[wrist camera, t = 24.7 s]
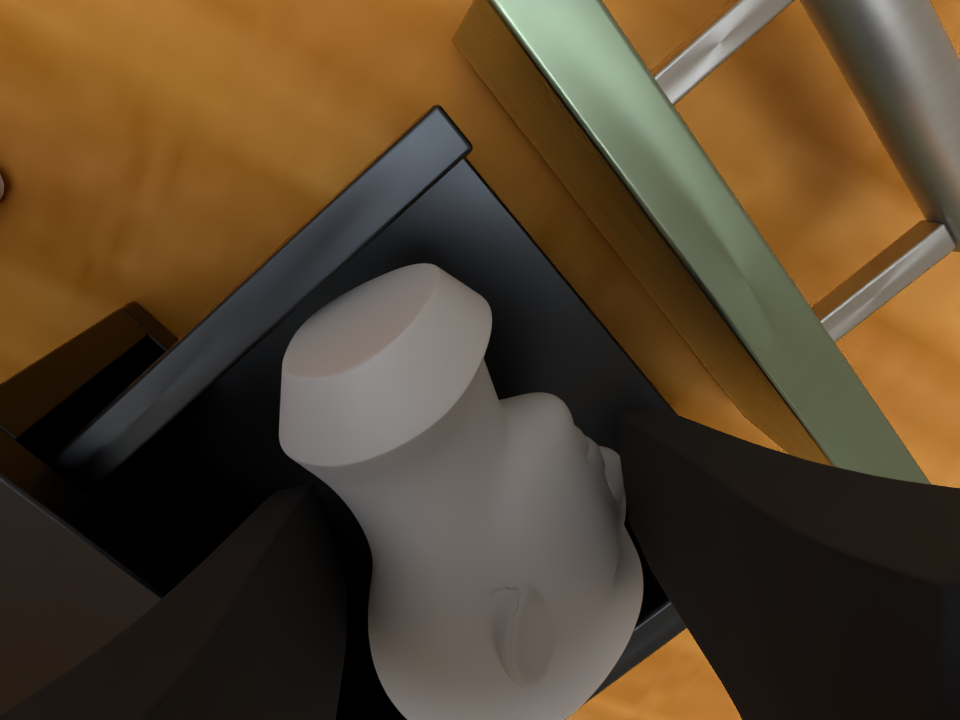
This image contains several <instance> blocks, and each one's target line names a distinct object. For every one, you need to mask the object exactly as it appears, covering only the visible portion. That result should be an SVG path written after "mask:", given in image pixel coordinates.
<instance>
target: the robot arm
mask: <svg viewBox="0 0 960 720" xmlns="http://www.w3.org/2000/svg"><path fill="white" fill-rule="evenodd" d="M3 194H4V182H3V179H2V176H1V174H0V199H1V197H2V195H3ZM614 418H615V425H616V432H617V439H618V447H619V454H620V461H621V468H622V475H623V483H624V490H625V497H626V504H627V511H628V519H629V522H630V524H631V527H632V529H633V531H634V534H635V536H636V538H637V540H638V543H639V545H640V547H641V549H642V551H643V554H644V556H645V558H646V560H647V562H648V564H649V566H650V569H651V571H652V572H653V574H654V575H655V577H656V579H657V580H658V582H659V584H660V585H661V587H662V588H663V590H664V592H665V593H666V595H667V596H668V598H669V600H670V601H671V603H672V604H673V606H674V608H675V609H676V611H677V612H678V614H679V616H680V617H681V619H682V620H683V622H684V623H685V625H686V627H687V628H688V630H689V631H690V633H691V635H692V636H693V638H694V639H695V641H696V642H697V644H698V646H699V647H700V649H701V650H702V652H703V653H704V655H705V657H706V658H707V660H708V661H709V663H710V665H711V666H712V668H713V669H714V671H715V672H716V674H717V676H718V677H719V679H720V680H721V682H722V684H723V685H724V687H725V689H726V691H727V692H728V694H729V696H730V698H731V699H732V701H733V703H734V705H735V706H736V708H737V710H738V712H739V714H740V716H741V718H742V720H960V488H952V487H945V486H938V485H931V484H924V483H917V482H910V481H903V480H897V479H891V478H886V477H880V476H875V475H870V474H865V473H861V472H856V471H852V470H847V469H842V468H838V467H833V466H829V465H825V464H821V463H817V462H813V461H809V460H805V459H802V458H799V457H795V456H792V455H789V454H785V453H782V452H779V451H775V450H772V449H769V448H766V447H763V446H760V445H757V444H754V443H751V442H748V441H745V440H742V439H739V438H736V437H734V436H731V435H728V434H726V433H723V432H720V431H717V430H715V429H712V428H710V427H707V426H704V425H702V424H699V423H697V422H694V421H691V420H689V419H686V418H684V417H681V416H678V415H676V414H673V413H670V412H667V411H664V410H661V409H658V408H654V407H646V408H641V409H637V410H632V411H628V412H624V413H619V414H615V415H614ZM346 643H347V585H346V582H345V579H344V575H343V572H342V569H341V566H340V563H339V560H338V557H337V553H336V550H335V547H334V544H333V541H332V538H331V534H330V531H329V528H328V525H327V522H326V519H325V515H324V512H323V509H322V506H321V503H320V500H319V497H318V493H317V490H316V487H315V484H314V483H311V484H307V485H302V486H298V487H293V488H289V489H285V490H280V491H277V492H275V493H274V494H273V495H271V496H270V497H269V498H268V499H267V500H266V501H264V502H263V503H262V504H261V505H260V506H259V507H258V508H257V509H256V510H255V511H254V512H253V513H252V514H251V515H250V516H249V517H248V518H247V519H246V520H245V521H244V522H243V523H242V524H241V525H240V526H239V527H238V528H237V529H236V530H235V531H234V532H233V533H232V534H231V535H230V536H229V537H228V538H227V539H226V540H225V541H224V542H222V543H221V544H220V545H219V546H218V547H217V548H216V549H215V550H214V551H213V552H212V553H211V554H210V555H209V556H208V557H207V558H206V559H205V560H204V561H203V562H202V563H201V564H200V565H199V566H198V567H196V568H195V569H194V570H193V571H192V572H191V573H190V574H189V575H188V576H187V577H185V578H184V579H183V580H182V581H181V582H180V583H179V584H178V585H177V586H175V587H174V588H173V589H172V590H171V591H170V592H169V593H168V594H167V595H165V596H164V597H163V598H162V599H161V600H160V601H159V602H158V603H157V604H155V605H154V606H153V607H152V608H151V609H149V610H148V611H147V612H146V613H145V614H144V615H142V616H141V617H140V618H139V619H137V620H136V621H135V622H134V623H132V624H131V625H130V626H129V627H127V628H126V629H125V630H123V631H122V632H121V633H120V634H118V635H117V636H116V637H114V638H113V639H112V640H110V641H109V642H108V643H106V644H105V645H104V646H102V647H101V648H100V649H98V650H97V651H96V652H94V653H93V654H92V655H90V656H89V657H88V658H86V659H85V660H83V661H82V662H81V663H79V664H78V665H76V666H75V667H73V668H72V669H70V670H69V671H67V672H66V673H64V674H63V675H61V676H60V677H58V678H57V679H55V680H54V681H52V682H51V683H49V684H48V685H46V686H45V687H43V688H42V689H40V690H39V691H37V692H36V693H34V694H33V695H31V696H30V697H28V698H27V699H25V700H24V701H22V702H21V703H19V704H17V705H16V706H14V707H13V708H11V709H10V710H8V711H7V712H5V713H3V714H2V715H0V720H336V713H337V706H338V700H339V693H340V686H341V679H342V672H343V665H344V658H345V650H346Z"/></svg>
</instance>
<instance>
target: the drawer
mask: <svg viewBox="0 0 960 720" xmlns="http://www.w3.org/2000/svg"><path fill="white" fill-rule="evenodd" d="M793 1H795V0H731V1H730V2H729V3H727V4H726V5H725V6H724V7H723V8H722V9H721V10H719V11H718V12H717V13H716V14H715V15H714V16H713V17H712V18H710V19H709V20H708V21H707V22H706V23H705V24H704V25H702V26H701V27H700V28H699V29H698V30H697V31H696V32H695V33H693V34H692V35H691V36H690V37H689V38H688V39H687V40H685V41H684V42H683V43H682V44H681V45H680V46H679V47H678V48H676V49H675V50H674V51H673V52H672V53H671V54H670V55H668V56H667V57H666V58H665V59H664V60H663V61H662V62H661V63H659V64H658V65H657V66H656V67H655V68H654V69H653V70H651V71H650V70H649V69H648V68H647V66H646V65H645V63H644V62H643V60H642V59H641V57H640V56H639V54H638V53H637V51H636V50H635V48H634V47H633V46H632V44H631V43H630V41H629V40H628V38H627V37H626V35H625V34H624V32H623V31H622V29H621V28H620V26H619V25H618V23H617V22H616V21H615V19H614V18H613V16H612V15H611V13H610V12H609V10H608V9H607V7H606V6H605V4H604V3H603V1H602V0H473V2H472V4H471V6H470V8H469V9H468V11H467V13H466V15H465V17H464V18H463V20H462V22H461V24H460V26H459V27H458V29H457V31H456V33H455V35H454V37H453V39H452V40H453V43H454V44H455V46H456V47H457V48H458V49H459V51H460V52H461V53H462V55H463V56H464V57H465V58H466V60H467V61H468V62H469V64H470V65H471V66H472V67H473V69H474V70H475V71H476V73H477V74H478V75H479V76H480V78H481V79H482V80H483V82H484V83H485V84H486V85H487V87H488V88H489V89H490V91H491V92H492V93H493V94H494V96H495V97H496V98H497V100H498V101H499V102H500V103H501V105H502V106H503V107H504V109H505V110H506V111H507V112H508V114H509V115H510V116H511V118H512V119H513V120H514V121H515V123H516V124H517V125H518V127H519V128H520V129H521V130H522V132H523V133H524V134H525V136H526V137H527V138H528V139H529V141H530V142H531V143H532V145H533V146H534V147H535V148H536V150H537V151H538V152H539V154H540V155H541V156H542V157H543V159H544V160H545V161H546V163H547V164H548V165H549V166H550V168H551V169H552V170H553V172H554V173H555V174H556V175H557V177H558V178H559V179H560V181H561V182H562V183H563V184H564V186H565V187H566V188H567V190H568V191H569V192H570V193H571V195H572V196H573V197H574V199H575V200H576V201H577V202H578V204H579V205H580V206H581V208H582V209H583V210H584V211H585V213H586V214H587V215H588V217H589V218H590V219H591V220H592V222H593V223H594V224H595V226H596V227H597V228H598V229H599V231H600V232H601V233H602V235H603V236H604V237H605V238H606V240H607V241H608V242H609V244H610V245H611V246H612V247H613V249H614V250H615V251H616V253H617V254H618V255H619V256H620V258H621V259H622V260H623V262H624V263H625V264H626V265H627V267H628V268H629V269H630V271H631V272H632V273H633V274H634V276H635V277H636V278H637V280H638V281H639V282H640V283H641V285H642V286H643V287H644V289H645V290H646V291H647V292H648V294H649V295H650V296H651V298H652V299H653V300H654V301H655V303H656V304H657V305H658V307H659V308H660V309H661V310H662V312H663V313H664V314H665V316H666V317H667V318H668V319H669V321H670V322H671V323H672V325H673V326H674V327H675V328H676V330H677V331H678V332H679V334H680V335H681V336H682V337H683V339H684V340H685V341H686V343H687V344H688V345H689V346H690V348H691V349H692V350H693V352H694V353H695V354H696V355H697V357H698V358H699V359H700V361H701V362H702V363H703V364H704V366H705V367H706V368H707V370H708V371H709V372H710V373H711V375H712V376H713V377H714V379H715V380H716V381H717V382H718V384H719V385H720V386H721V388H722V389H723V390H724V391H725V393H726V394H727V395H728V397H729V398H730V399H731V400H732V402H733V403H734V404H735V406H736V407H737V408H738V409H739V411H740V412H741V413H742V415H743V416H744V417H745V418H746V419H748V420H749V421H750V422H751V423H752V424H754V425H755V426H756V427H757V428H758V429H760V430H761V431H762V432H763V433H764V434H766V435H767V436H768V437H769V438H770V439H772V440H773V441H774V442H775V443H776V444H778V445H779V446H780V447H781V448H782V449H784V450H785V451H786V452H787V453H788V454H790V455H792V456H795V457H799V458H802V459H805V460H809V461H813V462H817V463H821V464H825V465H829V466H833V467H838V468H842V469H847V470H852V471H856V472H861V473H865V474H870V475H875V476H880V477H886V478H891V479H897V480H903V481H910V482H917V483H924V484H931V483H930V482H929V480H928V479H927V477H926V476H925V474H924V473H923V471H922V470H921V468H920V467H919V466H918V464H917V463H916V461H915V460H914V458H913V457H912V455H911V454H910V452H909V451H908V449H907V448H906V446H905V445H904V443H903V442H902V441H901V439H900V438H899V436H898V435H897V433H896V432H895V430H894V429H893V427H892V426H891V424H890V423H889V421H888V420H887V419H886V417H885V416H884V414H883V413H882V411H881V410H880V408H879V407H878V405H877V404H876V402H875V401H874V399H873V398H872V397H871V395H870V394H869V392H868V391H867V389H866V388H865V386H864V385H863V383H862V382H861V380H860V379H859V377H858V376H857V374H856V373H855V372H854V370H853V369H852V367H851V366H850V364H849V363H848V361H847V360H846V358H845V357H844V355H843V354H842V352H841V351H840V350H839V348H838V347H837V345H836V344H835V342H836V341H838V340H839V339H840V338H842V337H843V336H844V335H845V334H847V333H848V332H849V331H850V330H852V329H853V328H854V327H856V326H857V325H858V324H859V323H861V322H862V321H863V320H865V319H866V318H867V317H868V316H870V315H871V314H872V313H873V312H875V311H876V310H877V309H879V308H880V307H881V306H882V305H884V304H885V303H886V302H888V301H889V300H890V299H891V298H893V297H894V296H895V295H897V294H898V293H899V292H900V291H902V290H903V289H904V288H905V287H907V286H908V285H909V284H911V283H912V282H913V281H914V280H916V279H917V278H918V277H920V276H921V275H922V274H923V273H925V272H926V271H927V270H929V269H930V268H931V267H932V266H934V265H935V264H936V263H937V262H939V261H940V260H941V259H943V258H944V257H945V256H946V255H948V254H949V253H950V252H952V251H953V252H960V59H959V57H958V55H957V53H956V51H955V49H954V47H953V45H952V43H951V41H950V39H949V38H948V36H947V34H946V32H945V30H944V28H943V26H942V24H941V22H940V20H939V18H938V16H937V14H936V12H935V10H934V8H933V6H932V4H931V2H930V0H800V1H801V3H802V5H803V7H804V8H805V10H806V12H807V13H808V15H809V17H810V19H811V20H812V22H813V24H814V26H815V27H816V29H817V31H818V33H819V34H820V36H821V38H822V40H823V41H824V43H825V45H826V46H827V48H828V50H829V52H830V53H831V55H832V57H833V59H834V60H835V62H836V64H837V66H838V67H839V69H840V71H841V73H842V74H843V76H844V78H845V80H846V81H847V83H848V85H849V86H850V88H851V90H852V92H853V93H854V95H855V97H856V99H857V100H858V102H859V104H860V106H861V107H862V109H863V111H864V113H865V114H866V116H867V118H868V120H869V121H870V123H871V125H872V126H873V128H874V130H875V132H876V133H877V135H878V137H879V139H880V140H881V142H882V144H883V146H884V147H885V149H886V151H887V153H888V154H889V156H890V158H891V160H892V161H893V163H894V165H895V166H896V168H897V170H898V172H899V173H900V175H901V177H902V179H903V180H904V182H905V184H906V186H907V187H908V189H909V191H910V193H911V194H912V196H913V198H914V200H915V201H916V203H917V205H918V206H919V208H920V210H921V212H922V213H923V215H924V217H925V219H926V220H927V221H925V220H923V221H920V222H919V223H917V224H916V225H915V226H914V227H912V228H911V229H910V230H908V231H907V232H906V233H905V234H903V235H902V236H901V237H900V238H898V239H897V240H896V241H895V242H893V243H892V244H891V245H890V246H888V247H887V248H886V249H885V250H883V251H882V252H881V253H880V254H878V255H877V256H876V257H874V258H873V259H872V260H871V261H869V262H868V263H867V264H866V265H864V266H863V267H862V268H861V269H859V270H858V271H857V272H856V273H854V274H853V275H852V276H851V277H849V278H848V279H847V280H846V281H844V282H843V283H842V284H840V285H839V286H838V287H837V288H835V289H834V290H833V291H832V292H830V293H829V294H828V295H827V296H825V297H824V298H823V299H822V300H820V301H819V302H818V303H817V304H815V305H814V306H813V307H812V308H811V307H810V305H809V304H808V303H807V301H806V300H805V298H804V297H803V295H802V294H801V292H800V291H799V289H798V288H797V286H796V285H795V283H794V282H793V280H792V279H791V278H790V276H789V275H788V273H787V272H786V270H785V269H784V267H783V266H782V264H781V263H780V261H779V260H778V258H777V257H776V256H775V254H774V253H773V251H772V250H771V248H770V247H769V245H768V244H767V242H766V241H765V239H764V238H763V236H762V235H761V233H760V232H759V231H758V229H757V228H756V226H755V225H754V223H753V222H752V220H751V219H750V217H749V216H748V214H747V213H746V211H745V210H744V209H743V207H742V206H741V204H740V203H739V201H738V200H737V198H736V197H735V195H734V194H733V192H732V191H731V189H730V188H729V187H728V185H727V184H726V182H725V181H724V179H723V178H722V176H721V175H720V173H719V172H718V170H717V169H716V167H715V166H714V164H713V163H712V162H711V160H710V159H709V157H708V156H707V154H706V153H705V151H704V150H703V148H702V147H701V145H700V144H699V142H698V141H697V140H696V138H695V137H694V135H693V134H692V132H691V131H690V129H689V128H688V126H687V125H686V123H685V122H684V120H683V119H682V117H681V116H680V115H679V113H678V112H677V110H676V109H675V107H674V105H675V104H676V103H677V102H678V101H680V100H681V99H682V98H683V97H684V96H685V95H686V94H688V93H689V92H690V91H691V90H692V89H693V88H694V87H696V86H697V85H698V84H699V83H700V82H701V81H703V80H704V79H705V78H706V77H707V76H708V75H709V74H711V73H712V72H713V71H714V70H715V69H716V68H717V67H719V66H720V65H721V64H722V63H723V62H724V61H726V60H727V59H728V58H729V57H730V56H731V55H732V54H734V53H735V52H736V51H737V50H738V49H739V48H741V47H742V46H743V45H744V44H745V43H746V42H747V41H749V40H750V39H751V38H752V37H753V36H754V35H755V34H757V33H758V32H759V31H760V30H761V29H762V28H764V27H765V26H766V25H767V24H768V23H769V22H770V21H772V20H773V19H774V18H775V17H776V16H777V15H778V14H780V13H781V12H782V11H783V10H784V9H785V8H787V7H788V6H789V5H790V4H791V3H792V2H793ZM472 149H473V147H472V144H471V143H470V141H469V140H468V139H467V138H466V136H465V135H464V134H463V133H462V132H461V130H460V129H459V128H458V127H457V125H456V124H455V123H454V122H453V120H452V119H451V118H450V117H449V116H448V114H447V113H446V112H445V111H444V109H443V108H442V107H441V106H439V105H435V106H433V107H431V108H430V109H429V110H428V111H426V112H425V113H424V114H423V115H421V116H420V117H419V118H418V119H417V120H416V121H415V122H414V123H413V124H412V125H411V126H410V127H408V128H407V129H406V130H405V131H404V132H403V133H402V134H401V135H400V136H399V137H398V138H396V139H395V140H394V141H393V142H392V143H391V144H390V145H389V146H388V147H387V148H386V149H385V150H383V151H382V152H381V153H380V154H379V155H378V156H377V157H376V158H375V159H374V160H373V161H372V162H370V163H369V164H368V165H367V166H366V167H365V168H364V169H363V170H362V171H361V172H360V173H359V174H357V175H356V176H355V177H354V178H353V179H352V180H351V181H350V182H349V183H348V184H347V185H346V186H344V187H343V188H342V189H341V190H340V191H339V192H338V193H337V194H336V195H335V196H334V197H333V198H331V199H330V200H329V201H328V202H327V203H326V204H325V205H324V206H323V207H322V208H321V209H320V210H318V211H317V212H316V213H315V214H314V215H313V216H312V217H311V218H310V219H309V220H308V221H307V222H305V223H304V224H303V225H302V226H301V227H300V228H299V229H298V230H297V231H296V232H295V233H293V234H292V235H291V236H290V237H289V238H288V239H287V240H286V241H285V242H284V243H283V244H282V245H280V246H279V247H278V248H277V249H276V250H275V251H274V252H273V253H272V254H271V255H270V256H269V257H267V258H266V259H265V260H264V261H263V262H262V263H261V264H260V265H259V266H258V267H257V268H256V269H254V270H253V271H252V272H251V273H250V274H249V275H248V276H247V277H246V278H245V279H244V280H243V281H241V282H240V283H239V284H238V285H237V286H236V287H235V288H234V289H233V290H232V291H231V292H230V293H228V294H227V295H226V296H225V297H224V298H223V299H222V300H221V301H220V302H219V303H218V304H217V305H215V306H214V307H213V308H212V309H211V310H210V311H209V312H208V313H207V314H206V315H205V316H204V317H202V318H201V319H200V320H199V321H198V322H197V323H196V324H195V325H194V326H193V327H192V328H190V329H189V330H188V331H187V332H186V333H185V334H184V335H183V336H182V337H181V338H180V339H179V340H177V341H176V342H175V343H174V344H173V345H172V346H171V347H170V348H169V349H168V350H167V351H166V352H164V353H163V354H162V355H161V356H160V357H159V358H158V359H157V360H156V361H155V362H154V363H153V364H151V365H150V366H149V367H148V368H147V369H146V370H145V371H144V372H143V373H142V374H141V375H140V376H138V377H137V378H136V379H135V380H134V381H133V382H132V383H131V384H130V385H129V386H128V387H127V388H125V389H124V390H123V391H122V392H121V393H120V394H119V395H118V396H117V397H116V398H115V399H114V400H112V401H111V402H110V403H109V404H108V405H107V406H106V407H105V408H104V409H103V410H102V411H101V412H99V413H98V414H97V415H96V416H95V417H94V418H93V419H92V420H91V421H90V422H89V423H87V424H86V425H85V426H84V427H83V428H82V429H81V430H80V431H79V432H78V433H77V434H76V435H74V436H73V437H72V438H71V439H70V440H69V441H68V442H67V443H66V444H65V445H64V446H63V447H61V448H60V449H59V450H58V451H57V452H56V453H55V454H54V455H53V456H52V457H51V458H50V459H48V460H47V461H46V462H45V464H47V465H48V466H49V467H51V468H52V469H53V470H55V471H56V472H57V473H58V474H60V475H61V476H62V477H64V478H65V479H66V480H68V481H69V482H70V483H71V484H73V485H74V486H75V487H77V488H78V489H79V490H81V491H82V492H83V493H84V494H86V495H87V496H88V497H90V498H91V499H92V500H94V501H95V502H96V503H97V504H99V505H100V506H101V507H103V508H104V509H105V510H107V511H108V512H109V513H110V514H112V515H113V516H114V517H116V518H117V519H118V520H120V521H121V522H122V523H123V524H125V525H126V526H127V527H129V528H130V529H131V530H133V531H134V532H135V533H136V534H138V535H139V536H140V537H142V538H143V539H144V540H146V541H147V542H148V543H149V544H151V545H152V546H153V547H155V548H156V549H157V550H159V551H160V552H161V553H162V554H164V555H165V556H166V557H168V558H169V559H170V560H172V561H173V562H174V563H175V564H177V565H178V566H179V567H181V568H182V569H183V570H185V571H186V572H187V573H188V574H190V573H191V572H192V571H193V570H194V569H195V568H196V567H198V566H199V565H200V564H201V563H202V562H203V561H204V560H205V559H206V558H207V557H208V556H209V555H210V554H211V553H212V552H213V551H214V550H215V549H216V548H217V547H218V546H219V545H220V544H221V543H222V542H224V541H225V540H226V539H227V538H228V537H229V536H230V535H231V534H232V533H233V532H234V531H235V530H236V529H237V528H238V527H239V526H240V525H241V524H242V523H243V522H244V521H245V520H246V519H247V518H248V517H249V516H250V515H251V514H252V513H253V512H254V511H255V510H256V509H257V508H258V507H259V506H260V505H261V504H262V503H263V502H264V501H266V500H267V499H268V498H269V497H270V496H271V495H273V494H274V493H275V492H277V491H280V490H285V489H289V488H293V487H298V486H302V485H307V484H311V483H314V484H315V487H316V490H317V493H318V497H319V500H320V503H321V506H322V509H323V512H324V515H325V519H326V522H327V525H328V528H329V531H330V534H331V538H332V541H333V544H334V547H335V550H336V553H337V557H338V560H339V563H340V566H341V569H342V572H343V575H344V579H345V582H346V585H347V643H346V650H345V658H344V665H343V672H342V679H341V686H340V691H342V692H343V693H344V694H346V695H347V696H348V697H350V698H351V699H352V700H353V701H355V702H356V703H357V704H359V705H360V706H361V707H362V708H364V709H365V710H366V711H368V712H369V713H370V714H372V715H373V716H374V717H375V718H377V719H378V720H407V719H406V718H405V717H404V716H403V715H402V714H401V713H400V711H399V710H398V709H397V708H396V707H395V705H394V704H393V703H392V701H391V700H390V698H389V697H388V695H387V694H386V692H385V690H384V688H383V686H382V684H381V682H380V680H379V677H378V675H377V672H376V669H375V666H374V663H373V659H372V654H371V649H370V642H369V633H368V604H369V594H370V586H371V578H372V569H373V560H372V553H371V549H370V546H369V543H368V540H367V538H366V535H365V533H364V531H363V529H362V527H361V525H360V524H359V522H358V520H357V519H356V517H355V515H354V514H353V512H352V511H351V510H350V508H349V507H348V506H347V504H346V503H345V502H344V501H343V500H342V499H341V497H340V496H339V495H338V494H337V493H336V492H335V491H334V490H333V489H332V488H331V487H329V486H328V485H327V484H326V483H325V482H324V481H322V480H321V479H320V478H318V477H317V476H315V475H314V474H313V473H311V472H310V471H308V470H307V469H305V468H304V467H303V466H301V465H300V464H298V463H297V462H296V461H294V460H293V459H291V458H290V457H289V456H288V455H287V454H286V453H285V452H284V451H283V449H282V447H281V445H280V441H279V420H280V399H281V379H282V362H283V358H284V355H285V353H286V350H287V348H288V346H289V344H290V342H291V340H292V338H293V336H294V335H295V333H296V332H297V331H298V329H299V328H300V327H301V326H302V325H303V324H304V323H305V322H306V321H307V320H308V319H309V318H310V317H311V316H312V315H313V314H315V313H316V312H317V311H318V310H320V309H321V308H323V307H324V306H325V305H327V304H328V303H330V302H331V301H333V300H334V299H336V298H338V297H339V296H341V295H343V294H344V293H346V292H348V291H350V290H352V289H354V288H356V287H357V286H359V285H361V284H364V283H366V282H368V281H370V280H372V279H374V278H376V277H379V276H381V275H383V274H386V273H388V272H391V271H393V270H396V269H399V268H402V267H405V266H409V265H414V264H422V263H427V264H433V265H436V266H437V267H439V268H440V269H442V270H443V271H445V272H446V273H448V274H449V275H451V276H452V277H454V278H455V279H457V280H458V281H460V282H461V283H463V284H464V285H466V286H467V287H469V288H470V289H472V290H473V291H475V292H476V293H478V294H479V295H481V296H482V297H483V298H484V299H485V300H486V301H487V302H488V304H489V306H490V309H491V313H492V328H491V334H490V339H489V343H488V346H487V349H486V352H485V355H484V361H485V363H486V366H487V369H488V372H489V375H490V378H491V381H492V383H493V386H494V389H495V392H496V395H497V397H498V400H502V399H506V398H510V397H514V396H518V395H523V394H528V393H538V392H542V393H549V394H552V395H555V396H556V397H558V398H560V399H561V400H562V401H563V402H564V403H565V404H566V406H567V407H568V409H569V411H570V413H571V416H572V419H573V422H574V425H575V426H577V427H578V428H579V429H580V430H581V431H582V432H583V434H584V435H585V436H587V437H589V438H590V439H592V440H593V441H594V442H595V443H596V444H597V445H598V446H603V447H607V448H610V449H612V450H614V451H615V452H616V453H617V454H619V447H618V439H617V432H616V425H615V418H614V415H615V414H619V413H624V412H628V411H632V410H637V409H641V408H646V407H654V408H658V409H661V410H664V411H667V412H670V413H673V414H676V412H675V411H674V410H673V409H672V408H671V406H670V405H669V404H668V403H667V401H666V400H665V399H664V398H663V397H662V395H661V394H660V393H659V392H658V390H657V389H656V388H655V387H654V386H653V384H652V383H651V382H650V381H649V380H648V378H647V377H646V376H645V375H644V373H643V372H642V371H641V370H640V369H639V367H638V366H637V365H636V364H635V363H634V361H633V360H632V359H631V358H630V356H629V355H628V354H627V353H626V352H625V350H624V349H623V348H622V347H621V345H620V344H619V343H618V342H617V341H616V339H615V338H614V337H613V336H612V335H611V333H610V332H609V331H608V330H607V328H606V327H605V326H604V325H603V324H602V322H601V321H600V320H599V319H598V318H597V316H596V315H595V314H594V313H593V311H592V310H591V309H590V308H589V307H588V305H587V304H586V303H585V302H584V301H583V299H582V298H581V297H580V296H579V294H578V293H577V292H576V291H575V290H574V288H573V287H572V286H571V285H570V283H569V282H568V281H567V280H566V279H565V277H564V276H563V275H562V274H561V273H560V271H559V270H558V269H557V268H556V266H555V265H554V264H553V263H552V262H551V260H550V259H549V258H548V257H547V256H546V254H545V253H544V252H543V251H542V249H541V248H540V247H539V246H538V245H537V243H536V242H535V241H534V240H533V239H532V237H531V236H530V235H529V234H528V232H527V231H526V230H525V229H524V228H523V226H522V225H521V224H520V223H519V221H518V220H517V219H516V218H515V217H514V215H513V214H512V213H511V212H510V211H509V209H508V208H507V207H506V206H505V204H504V203H503V202H502V201H501V200H500V198H499V197H498V196H497V195H496V194H495V192H494V191H493V190H492V189H491V187H490V186H489V185H488V184H487V183H486V181H485V180H484V179H483V178H482V177H481V175H480V174H479V173H478V172H477V170H476V169H475V168H474V167H473V166H472V164H471V163H470V162H469V161H468V159H467V158H466V156H467V155H468V154H469V153H470V152H471V151H472ZM676 415H677V414H676ZM619 456H620V454H619ZM624 526H625V528H626V530H627V532H628V534H629V536H630V538H631V540H632V542H633V544H634V546H635V549H636V551H637V553H638V556H639V559H640V563H641V567H642V574H643V598H642V604H641V609H640V613H639V616H638V619H637V622H636V625H635V628H634V630H633V633H632V635H631V637H630V640H629V642H628V644H627V646H626V648H625V650H624V651H623V653H622V655H621V656H620V658H619V660H618V661H617V663H616V664H615V666H614V667H613V669H612V670H611V672H610V673H609V675H608V676H607V677H606V679H605V680H604V681H603V683H602V684H601V685H600V686H599V687H598V689H597V690H596V691H595V692H594V693H593V694H592V696H591V697H590V698H589V699H588V700H587V701H586V702H588V701H589V700H590V699H592V698H593V697H594V696H596V695H597V694H598V693H600V692H601V691H602V690H604V689H605V688H606V687H608V686H609V685H611V684H612V683H613V682H615V681H616V680H617V679H619V678H620V677H621V676H623V675H624V674H625V673H627V672H628V671H629V670H631V669H632V668H633V667H635V666H636V665H638V664H639V663H640V662H642V661H643V660H644V659H646V658H647V657H648V656H650V655H651V654H652V653H654V652H655V651H656V650H658V649H659V648H660V647H662V646H663V645H665V644H666V643H667V642H669V641H670V640H671V639H673V638H674V637H675V636H677V635H678V634H679V633H681V632H682V631H683V630H685V629H686V628H687V627H686V625H685V623H684V622H683V620H682V619H681V617H680V616H679V614H678V612H677V611H676V609H675V608H674V606H673V604H672V603H671V601H670V600H669V598H668V596H667V595H666V593H665V592H664V590H663V588H662V587H661V585H660V584H659V582H658V580H657V579H656V577H655V575H654V574H653V572H652V571H651V569H650V566H649V564H648V562H647V560H646V558H645V556H644V554H643V551H642V549H641V547H640V545H639V543H638V540H637V538H636V536H635V534H634V531H633V529H632V527H631V524H630V522H629V519H628V511H627V504H626V515H625V521H624ZM586 702H585V703H586ZM585 703H584V704H585ZM584 704H583V705H584Z"/></svg>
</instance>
